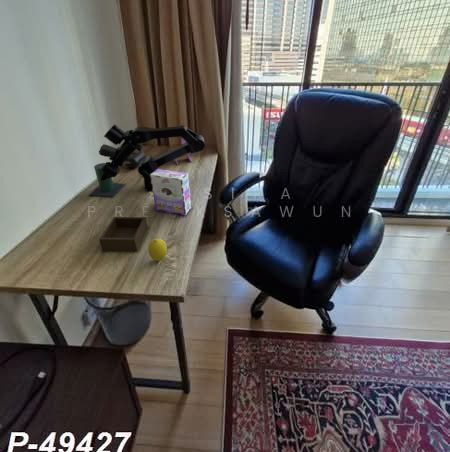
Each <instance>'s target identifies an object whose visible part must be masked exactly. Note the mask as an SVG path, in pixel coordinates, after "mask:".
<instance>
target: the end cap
mask: <svg viewBox="0 0 450 452" xmlns="http://www.w3.org/2000/svg"><path fill="white" fill-rule="evenodd" d="M146 157H147V156H146V154H145V153H144V152H143V151H142V150H141V151H138V152H137V151H134V152H133V153H132V154H131V156H130V157H129V158H128V160H126V161H125V167H126V169H127V170H135V169H137V167H139V165H140V163H141V161H142V160H143V158H146Z"/></svg>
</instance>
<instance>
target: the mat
mask: <svg viewBox="0 0 450 452" xmlns="http://www.w3.org/2000/svg"><path fill="white" fill-rule="evenodd" d="M113 185H114V189H113V190H112V191H109V192H101V190H100V187H99V185H98V186H97V187H96V188H95V189H94V190H93V191H92V192H90V193H89V196H90V197H102V198H103V197H104V198H114V196H115V195H116V194H117V193H119V192H120V190H121V189H122V188H123V187H124V186H125V183H119V182H117V183H116V182H113Z"/></svg>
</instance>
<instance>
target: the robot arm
mask: <svg viewBox="0 0 450 452" xmlns="http://www.w3.org/2000/svg"><path fill="white" fill-rule="evenodd" d="M103 138H105V139H107V140H108V141H109V142H110V143H112V144H113V145H115V146H117V148H116V147H114V146H111V145H109V144H104V143H103V144H102V145H101V146H100V149H99V150H98V154H99V155H100V156H102V157H107V158H108V160H109V161H106V162H104V163H105V165H104V166H103V167H102V170H103V171H104V173H103V175H102V177H101V180H102V181H103V180H106V179H108V178H111V177H112V178H116V177H117V175H119V172H120V168H119V167H123V165H124V164H126V160H128V158H129V157H130V156H132V155H131V154H132V153H133V152H136V150H137V151H138V152H139V151H141V152H142V150H143V146H142V144H145V143H147V142H150V141H152V140H159V139H170V138H181V139H182V138H183V139H184V140H185V141H186V142H185V143H184V144H181V145H179V146H176V147H174V148H173V149H171V150H168V151H166V152H164V153H162V154H160V155H158V156H155V157H154V156H152V154H149V155H148V156H146V158H143V160H142V161H141V163H140V165H139V166H138V169H137V172H138V174H139V175H140V176H141V177H142V178H143V184H144V189H145V190H146V192H153V190H152V184H151V179H150V174H152V173H153V172H154V171H155V170H157V169H160V167H162V166H164V165H166V164H168V163H170V162H172V161H175V159H176V160H177V159H179V158H181V157H183V156H185V155H187V154H188V153H189V154H196V153H200V152H202V151H204V149H205V148H206V147H205V146H206V145H205V138H204V136H203V135H201V134H198V133H196V132H195V131H193V130H191V129H190V128H188V127H187V126H186V125H177V126H168V127H167V126H165V127H155V128H152V127H148V126H136V127H134V128H133V129H128V130H125V131H124V130H123V129H121V128H120V127H119V126H118V125H116V124H113V125H112V126H111V127H110V128H109V129H108V130H107V131H106V133H105V134H104V135H103ZM118 145H120V146H118Z"/></svg>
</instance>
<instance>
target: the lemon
mask: <svg viewBox="0 0 450 452" xmlns="http://www.w3.org/2000/svg"><path fill="white" fill-rule="evenodd" d="M147 249H148V250H147V251H148V255H149V257H150V259H151V260H153V261H155V262H158V261H162V260H164V259H165V257H166V256H167V253H168V247H167V244H166V242H165V240H163V239H161V238H154V239H152V240H151V241H150V243H149V245H148V248H147Z"/></svg>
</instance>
